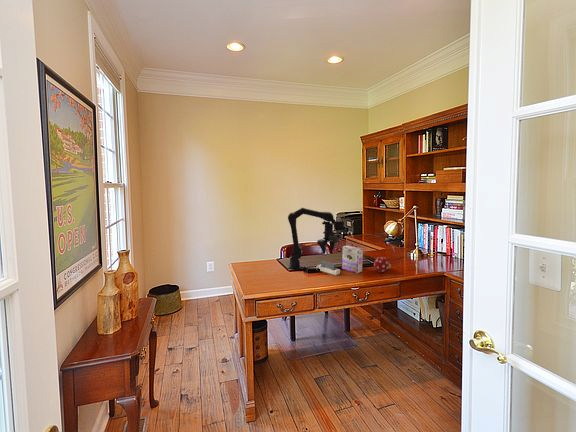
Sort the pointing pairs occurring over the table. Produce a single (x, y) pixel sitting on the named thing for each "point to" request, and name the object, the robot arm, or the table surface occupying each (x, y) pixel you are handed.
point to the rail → (329, 270)
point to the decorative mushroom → (381, 264)
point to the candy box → (352, 259)
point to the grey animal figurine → (328, 265)
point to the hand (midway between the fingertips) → (328, 252)
